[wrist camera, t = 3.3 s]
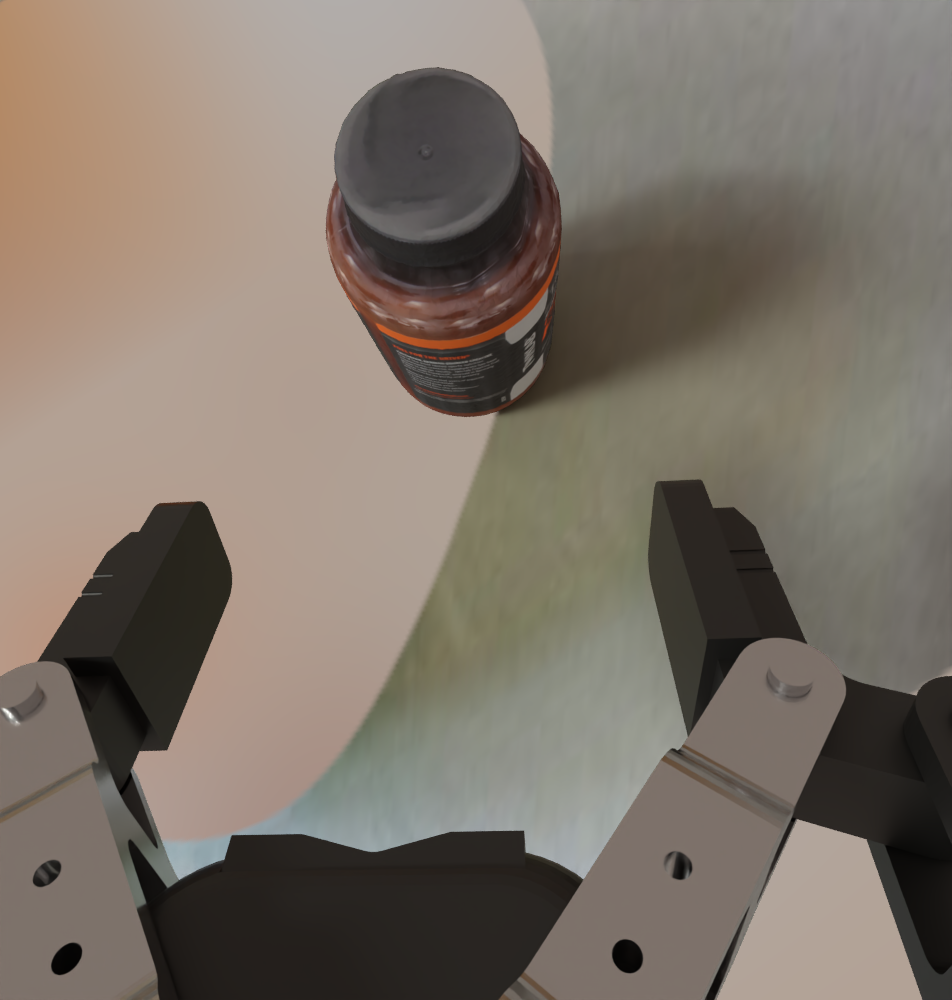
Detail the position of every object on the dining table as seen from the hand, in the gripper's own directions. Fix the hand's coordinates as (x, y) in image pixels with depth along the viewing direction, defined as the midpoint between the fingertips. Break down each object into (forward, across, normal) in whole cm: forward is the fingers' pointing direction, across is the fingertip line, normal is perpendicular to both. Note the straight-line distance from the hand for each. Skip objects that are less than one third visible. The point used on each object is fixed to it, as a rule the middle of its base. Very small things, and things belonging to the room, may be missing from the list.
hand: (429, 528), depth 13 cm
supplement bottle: (+14, 0, +3) cm, 15 cm away
